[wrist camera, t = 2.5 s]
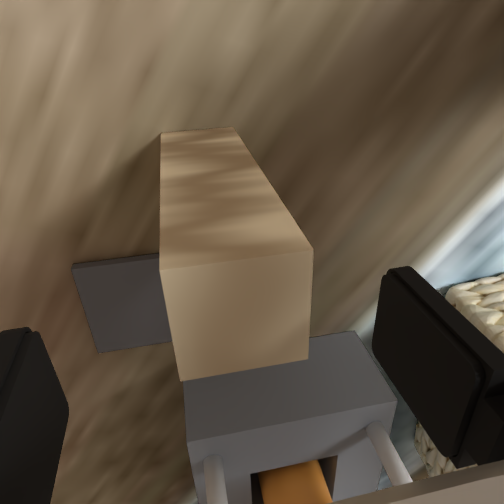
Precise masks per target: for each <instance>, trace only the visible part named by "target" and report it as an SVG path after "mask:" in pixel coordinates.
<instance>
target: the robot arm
mask: <svg viewBox="0 0 504 504" xmlns="http://www.w3.org/2000/svg"><path fill="white" fill-rule="evenodd" d="M372 350H373V353H374V355H375V357H376V359H377V360H378V362H379V363H380V365H381V366H382V367H383V369H384V370H385V372H386V373H387V375H388V376H389V378H390V379H391V381H392V382H393V384H394V385H395V387H396V388H397V390H398V391H399V393H400V394H401V396H402V397H403V399H404V400H405V402H406V403H407V405H408V406H409V408H410V409H411V411H412V412H413V414H414V415H415V417H416V418H417V420H418V421H419V423H420V424H421V425H422V427H423V428H424V430H425V431H426V433H427V434H428V436H429V437H430V439H431V440H432V442H433V443H434V445H435V446H436V448H437V449H438V451H439V452H440V453H441V455H443V456H444V457H449V459H450V460H451V462H452V463H453V465H454V466H455V468H456V469H459V468H463V467H467V466H471V465H475V464H477V465H478V466H475V467H471V468H467V469H462V470H458V471H454V472H450V473H445V474H441V475H438V476H434V477H430V478H426V479H422V480H418V481H414V482H410V483H406V484H402V485H398V486H394V487H390V488H386V489H382V490H378V491H375V492H371V493H367V494H363V495H359V496H355V497H351V498H347V499H343V500H339V501H335V502H332V503H328V504H504V353H503V352H502V351H501V350H500V349H499V348H497V347H496V346H495V345H494V344H493V343H492V342H491V341H490V340H489V339H488V338H487V337H486V336H485V335H484V334H482V333H481V332H480V331H479V330H478V329H477V328H476V327H475V326H474V325H473V324H472V323H471V322H470V321H469V320H468V319H466V318H465V317H464V316H463V315H462V314H461V313H460V312H459V311H458V310H457V309H456V308H455V307H454V306H453V305H451V304H450V303H449V302H448V301H447V300H446V299H445V298H444V297H443V296H442V295H441V294H440V293H439V292H438V291H436V290H435V289H434V288H433V287H432V286H431V285H430V284H429V283H428V282H427V281H426V280H425V279H424V278H423V277H421V276H420V275H419V274H418V273H417V272H416V271H415V270H414V269H413V268H412V267H410V266H405V267H399V268H392V269H389V270H388V271H387V274H386V275H383V277H382V280H381V287H380V293H379V300H378V306H377V313H376V319H375V326H374V332H373V339H372ZM68 416H69V407H68V402H67V400H66V397H65V395H64V392H63V390H62V387H61V385H60V382H59V380H58V377H57V375H56V372H55V370H54V367H53V365H52V363H51V360H50V358H49V355H48V353H47V350H46V348H45V345H44V343H43V340H42V338H41V336H40V334H39V332H37V331H35V332H32V331H31V329H30V328H29V327H23V328H17V329H11V330H4V331H2V332H1V333H0V504H50V501H51V497H52V492H53V487H54V483H55V478H56V473H57V469H58V464H59V459H60V454H61V450H62V445H63V440H64V436H65V431H66V426H67V422H68Z"/></svg>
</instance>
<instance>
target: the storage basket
mask: <svg viewBox="0 0 504 504" xmlns="http://www.w3.org/2000/svg"><path fill="white" fill-rule="evenodd" d="M445 299H446V300H447V301H448V302H449V303H450V304H451V305H453V306H454V307H455V308H456V309H457V310H458V311H459V312H460V313H461V314H462V315H463V316H464V317H465V318H466V319H468V320H469V321H470V322H471V323H472V324H473V325H474V326H475V327H476V328H477V329H478V330H479V331H480V332H481V333H482V334H484V335H485V336H486V337H487V338H488V339H489V340H490V341H491V342H492V343H493V344H494V345H495V346H496V347H497V348H499V349H500V350H501V351H502V352H503V353H504V274H501V275H499V276H497V277H485V278H481V279H478V280H476V281H474V282H467V283H461V284H457V285H455V286H453V287H451V288H450V289H449V290H448V292H447V293H446V296H445ZM415 433H416V434H415V438H414V445H415V447H416V450H417V452H418V453H419V455H420V457H421V459H422V461H423V463H424V464H425V465H426V469H427V472H428V474H429V478H430V477H434V476H438V475H441V474H445V473H450V472H454V471H458V470H462V469H467V468H471V467H475V466H478V465H477V464H475V465H471V466H467V467H463V468H459V469H456V468H455V466H454V465H453V463H452V462H451V460H450V459H449V457H444V456H443V455H441V453H440V452H439V451H438V449H437V448H436V446H435V445H434V443H433V442H432V440H431V439H430V437H429V436H428V434H427V433H426V431H425V430H424V428H423V427H422V425H421V424H420V423H419V421H418V424H416V432H415Z"/></svg>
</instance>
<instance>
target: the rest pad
mask: <svg viewBox="0 0 504 504" xmlns="http://www.w3.org/2000/svg"><path fill="white" fill-rule="evenodd" d="M159 257H160V253H158V254H150V255H142V256H134V257H126V258H119V259H111V260H103V261H95V262H87V263H79V264H73V265H72V268H71V271H72V274H73V277H74V280H75V283H76V286H77V289H78V293H79V296H80V299H81V302H82V305H83V308H84V311H85V314H86V317H87V320H88V323H89V327H90V330H91V333H92V336H93V339H94V342H95V345H96V348H97V351H98V353H103V352H109V351H115V350H122V349H128V348H134V347H140V346H147V345H153V344H159V343H165V342H171V341H172V336H171V330H170V325H169V319H168V314H167V309H166V303H165V298H164V293H163V287H162V282H161V277H160V271H159Z"/></svg>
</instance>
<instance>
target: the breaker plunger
mask: <svg viewBox="0 0 504 504" xmlns="http://www.w3.org/2000/svg"><path fill="white" fill-rule="evenodd" d="M257 473H258V478H259V483H260V487H261V492H262V497H263V502H264V504H328V503H332V502H333V501H332V498H331V496H330V493H329V490H328V487H327V484H326V481H325V479H324V476H323V473H322V470H321V467H320V464H319V462H318V459H317V460H312V461H308V462H303V463H299V464H294V465H289V466H285V467H280V468H275V469H271V470H266V471H261V472H257Z"/></svg>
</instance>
